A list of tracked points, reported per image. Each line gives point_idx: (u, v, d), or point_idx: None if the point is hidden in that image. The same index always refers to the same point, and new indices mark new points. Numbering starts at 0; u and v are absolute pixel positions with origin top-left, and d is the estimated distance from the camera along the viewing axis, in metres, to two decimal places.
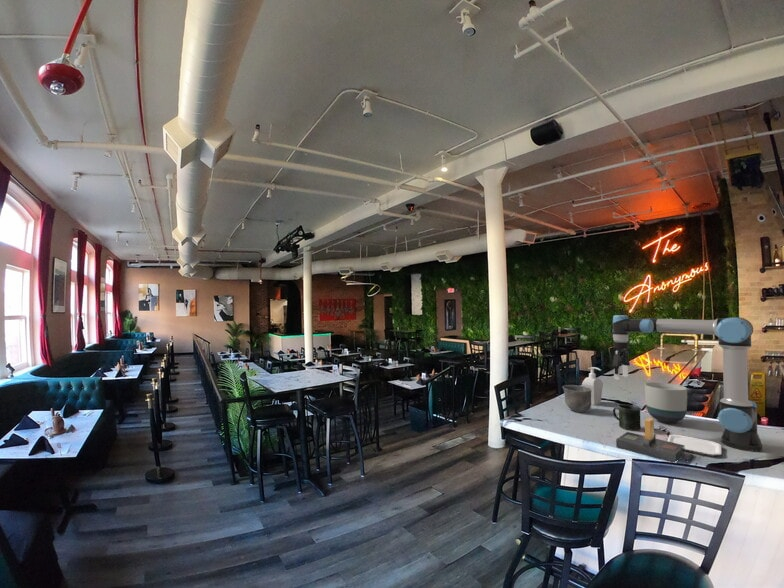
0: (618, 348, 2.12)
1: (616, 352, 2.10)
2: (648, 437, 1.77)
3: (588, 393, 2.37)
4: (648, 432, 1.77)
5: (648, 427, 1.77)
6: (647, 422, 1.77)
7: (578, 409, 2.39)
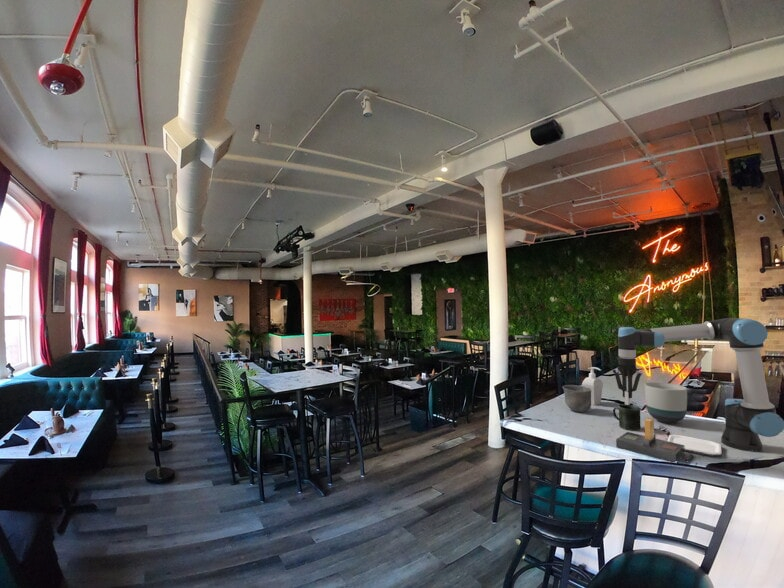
0: None
1: None
2: (648, 437, 1.77)
3: (588, 393, 2.37)
4: (648, 432, 1.77)
5: (648, 427, 1.77)
6: (647, 422, 1.77)
7: (578, 409, 2.39)
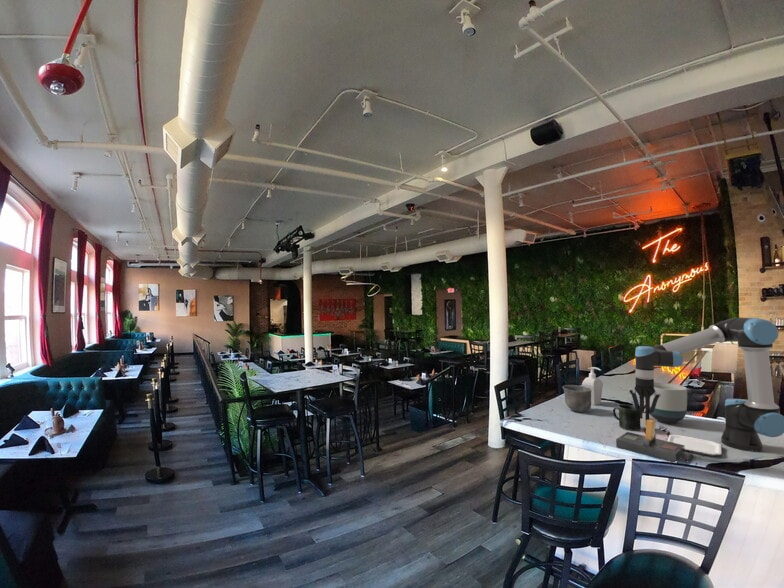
0: None
1: None
2: (648, 437, 1.77)
3: (588, 393, 2.37)
4: (649, 432, 1.77)
5: (649, 427, 1.77)
6: (649, 423, 1.77)
7: (578, 409, 2.39)
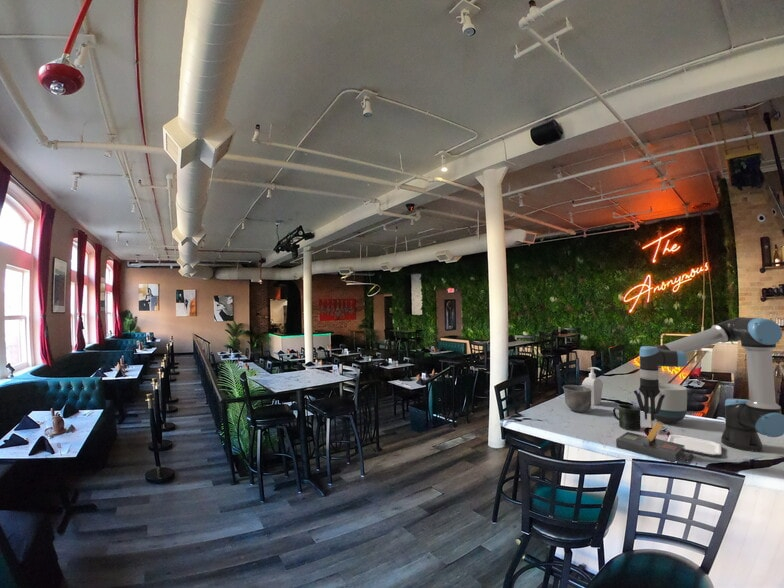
0: None
1: None
2: (650, 438, 1.76)
3: (588, 393, 2.37)
4: (653, 434, 1.76)
5: (655, 430, 1.75)
6: (657, 426, 1.74)
7: (578, 409, 2.39)
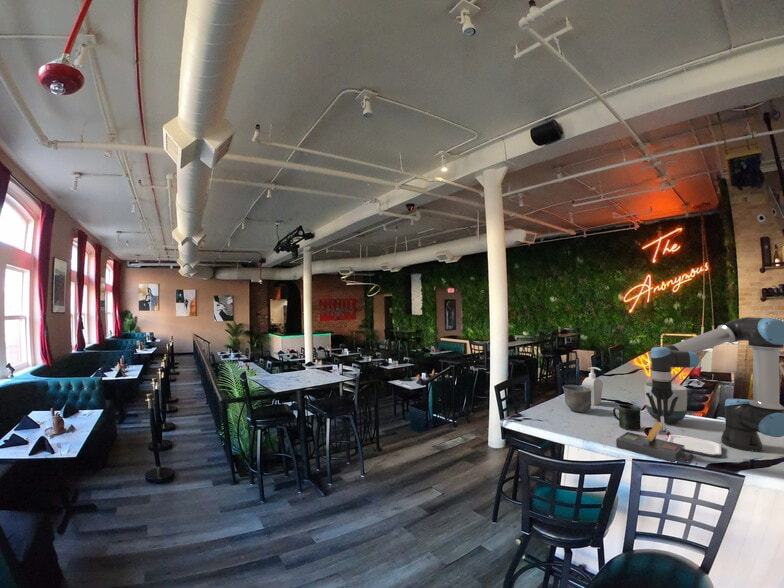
0: None
1: None
2: (650, 438, 1.76)
3: (588, 393, 2.37)
4: (653, 434, 1.76)
5: (655, 430, 1.75)
6: (657, 426, 1.74)
7: (578, 409, 2.39)
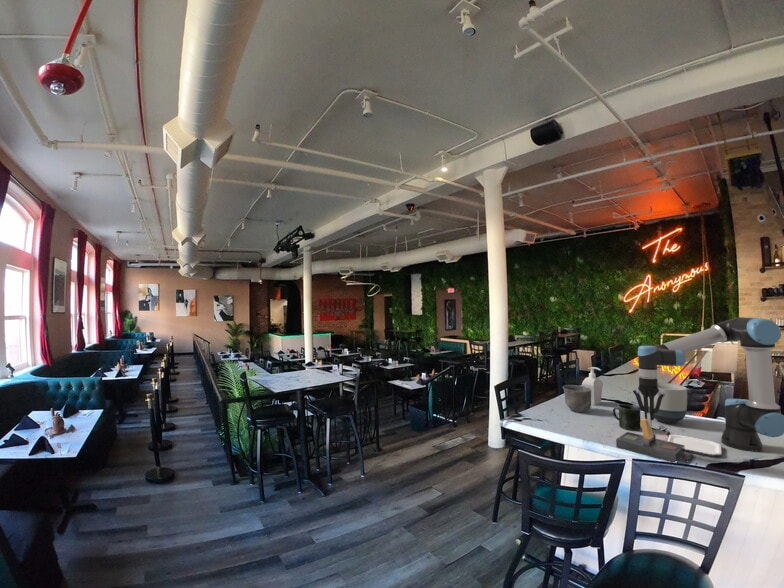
0: None
1: None
2: (647, 437, 1.77)
3: (588, 393, 2.37)
4: (646, 432, 1.78)
5: (645, 426, 1.78)
6: (643, 421, 1.79)
7: (578, 409, 2.39)
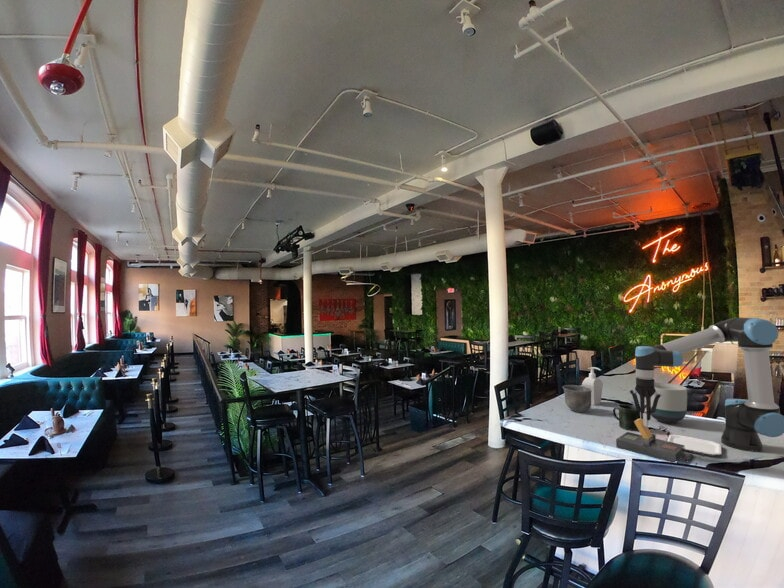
0: None
1: None
2: (645, 437, 1.78)
3: (588, 393, 2.37)
4: (643, 431, 1.79)
5: (640, 426, 1.80)
6: (637, 422, 1.81)
7: (578, 409, 2.39)
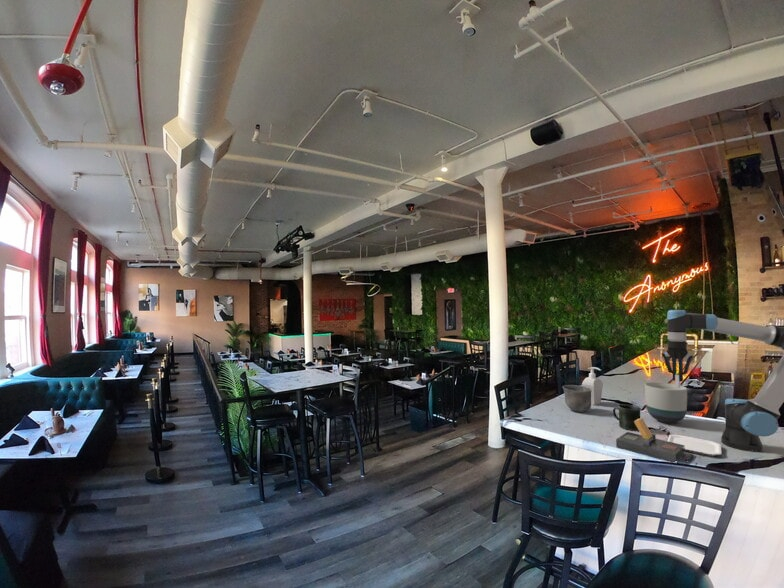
0: None
1: None
2: (645, 437, 1.78)
3: (588, 393, 2.37)
4: (643, 431, 1.79)
5: (640, 426, 1.80)
6: (637, 422, 1.81)
7: (578, 409, 2.39)
